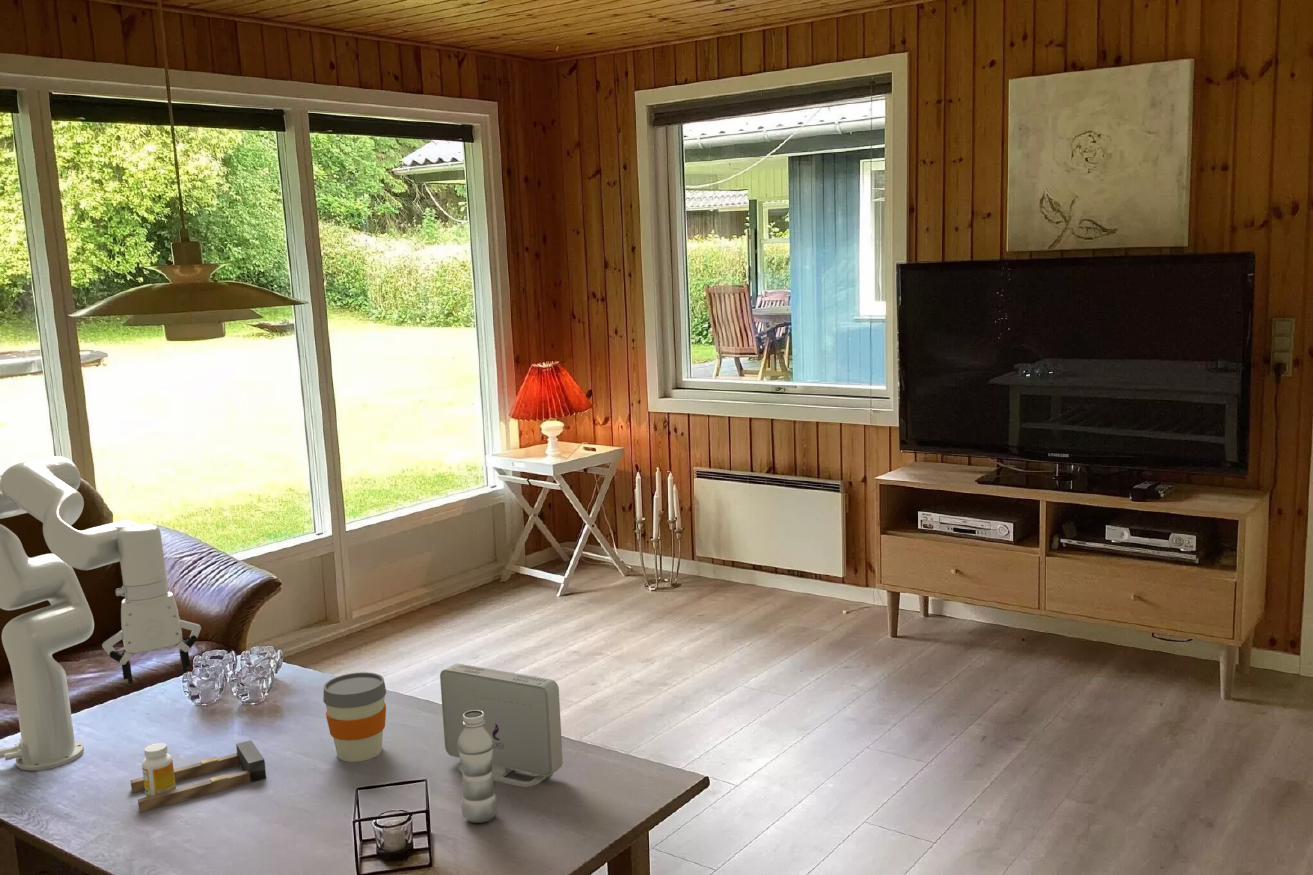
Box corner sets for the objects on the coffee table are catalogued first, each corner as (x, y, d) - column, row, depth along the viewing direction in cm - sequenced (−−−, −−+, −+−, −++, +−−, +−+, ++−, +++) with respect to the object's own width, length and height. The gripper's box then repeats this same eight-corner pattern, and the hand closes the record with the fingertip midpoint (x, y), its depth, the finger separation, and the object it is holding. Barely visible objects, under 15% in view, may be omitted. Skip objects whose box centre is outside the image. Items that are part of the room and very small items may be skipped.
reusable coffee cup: (399, 754, 230) (393, 685, 227) (338, 771, 223) (332, 700, 221) (379, 734, 240) (374, 667, 238) (320, 749, 234) (314, 681, 231)
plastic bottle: (481, 806, 207) (474, 703, 204) (506, 816, 203) (499, 712, 199) (454, 820, 202) (446, 715, 199) (479, 831, 198) (472, 724, 194)
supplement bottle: (181, 787, 219) (176, 741, 217) (166, 801, 213) (161, 753, 212) (155, 787, 219) (149, 740, 218) (140, 800, 214) (134, 753, 212)
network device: (439, 768, 223) (432, 672, 220) (465, 750, 231) (459, 657, 228) (546, 792, 211) (540, 692, 208) (571, 773, 219) (566, 675, 216)
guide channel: (140, 812, 209) (137, 792, 209) (131, 789, 219) (129, 770, 218) (266, 778, 221) (264, 759, 221) (253, 758, 231) (251, 740, 230)
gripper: (96, 603, 205) (108, 692, 207) (197, 586, 213) (208, 672, 216) (94, 594, 211) (106, 680, 214) (192, 577, 220) (203, 661, 222)
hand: (157, 676), depth 215 cm, fingers open, 9 cm apart
